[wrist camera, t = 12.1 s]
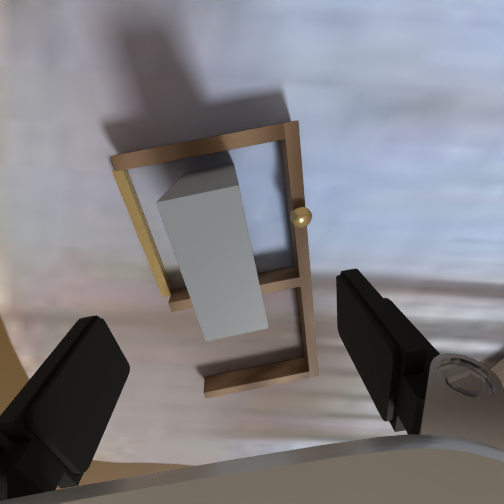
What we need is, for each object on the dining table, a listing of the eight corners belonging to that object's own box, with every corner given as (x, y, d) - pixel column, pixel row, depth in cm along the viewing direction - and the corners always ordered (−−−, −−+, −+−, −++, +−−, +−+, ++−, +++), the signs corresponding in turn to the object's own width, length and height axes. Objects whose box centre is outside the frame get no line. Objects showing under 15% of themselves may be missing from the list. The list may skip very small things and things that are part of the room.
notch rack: (295, 120, 19) (305, 119, 17) (315, 360, 30) (323, 379, 28) (110, 155, 19) (94, 159, 17) (200, 383, 30) (198, 405, 28)
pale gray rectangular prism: (233, 163, 20) (238, 185, 12) (254, 262, 24) (268, 328, 16) (182, 174, 20) (152, 203, 12) (211, 270, 24) (203, 341, 16)
